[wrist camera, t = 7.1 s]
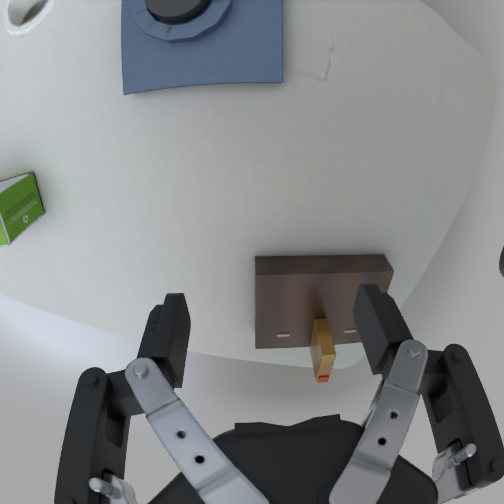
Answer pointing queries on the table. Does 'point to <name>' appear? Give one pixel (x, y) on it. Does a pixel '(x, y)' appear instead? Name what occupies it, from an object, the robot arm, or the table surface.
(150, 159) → the table surface
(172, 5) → the bell button
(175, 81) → the box
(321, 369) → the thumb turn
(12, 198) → the ink box
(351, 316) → the plate
